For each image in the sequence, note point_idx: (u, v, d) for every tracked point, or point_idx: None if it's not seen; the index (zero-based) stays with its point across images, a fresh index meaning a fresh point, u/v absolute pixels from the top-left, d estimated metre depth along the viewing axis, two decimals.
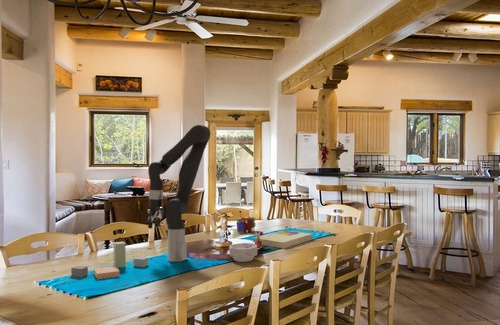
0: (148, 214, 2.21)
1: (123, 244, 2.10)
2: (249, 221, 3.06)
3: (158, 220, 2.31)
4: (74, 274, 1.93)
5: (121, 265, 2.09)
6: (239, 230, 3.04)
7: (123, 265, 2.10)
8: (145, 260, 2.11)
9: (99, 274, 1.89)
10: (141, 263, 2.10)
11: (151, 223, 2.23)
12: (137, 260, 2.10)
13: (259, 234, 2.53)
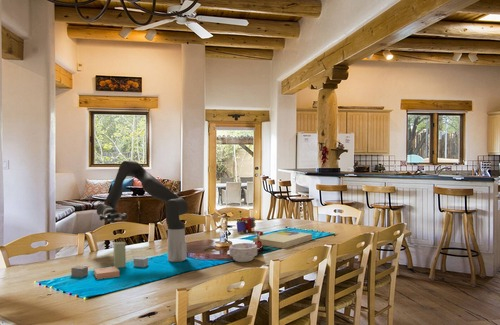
0: (99, 217, 2.25)
1: (123, 244, 2.10)
2: (249, 221, 3.06)
3: (121, 216, 2.26)
4: (74, 274, 1.93)
5: (121, 265, 2.09)
6: (239, 230, 3.04)
7: (123, 265, 2.10)
8: (145, 260, 2.11)
9: (99, 274, 1.89)
10: (141, 263, 2.10)
11: (105, 216, 2.21)
12: (137, 260, 2.10)
13: (259, 234, 2.53)
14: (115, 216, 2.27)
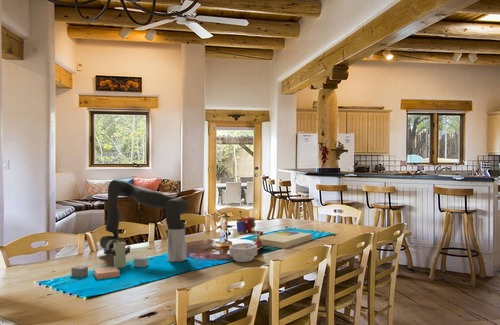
0: (105, 251, 2.13)
1: (123, 244, 2.10)
2: (249, 221, 3.06)
3: None
4: (74, 274, 1.93)
5: (121, 265, 2.09)
6: (239, 230, 3.04)
7: (123, 265, 2.10)
8: (146, 260, 2.11)
9: (99, 274, 1.89)
10: (142, 263, 2.10)
11: (113, 251, 2.10)
12: (137, 260, 2.10)
13: (259, 234, 2.53)
14: None
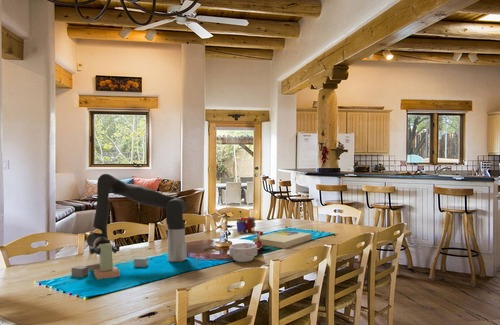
0: (89, 249, 1.97)
1: (109, 245, 1.94)
2: (249, 221, 3.06)
3: (113, 249, 1.97)
4: (74, 274, 1.93)
5: (108, 268, 1.93)
6: (239, 230, 3.04)
7: (110, 268, 1.93)
8: (146, 260, 2.11)
9: (99, 274, 1.89)
10: (142, 263, 2.10)
11: (97, 249, 1.93)
12: (138, 260, 2.10)
13: (259, 234, 2.53)
14: None
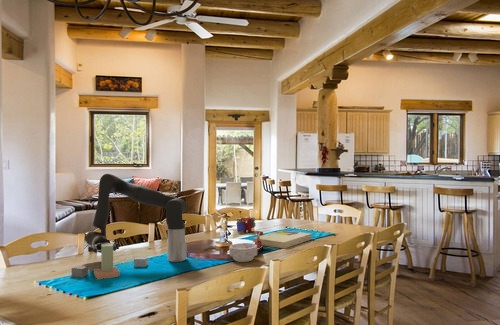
0: None
1: (110, 247, 1.92)
2: (249, 221, 3.06)
3: (113, 247, 2.02)
4: (74, 274, 1.93)
5: (108, 269, 1.93)
6: (239, 230, 3.04)
7: (110, 269, 1.93)
8: (146, 260, 2.11)
9: (99, 274, 1.89)
10: (142, 263, 2.10)
11: (94, 247, 1.97)
12: (138, 260, 2.10)
13: (259, 234, 2.53)
14: None
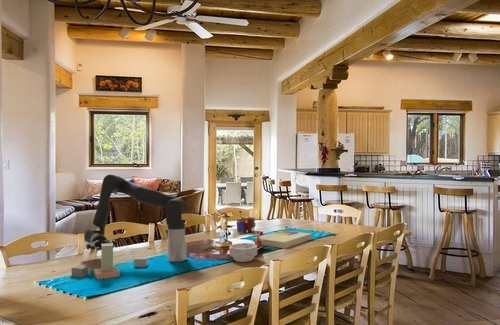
0: (86, 245, 2.07)
1: (110, 246, 1.93)
2: (249, 221, 3.06)
3: None
4: (74, 274, 1.93)
5: (108, 269, 1.92)
6: (239, 230, 3.04)
7: (110, 269, 1.93)
8: (146, 260, 2.12)
9: (99, 274, 1.89)
10: (142, 263, 2.10)
11: (92, 245, 2.04)
12: (138, 260, 2.10)
13: (259, 234, 2.53)
14: None
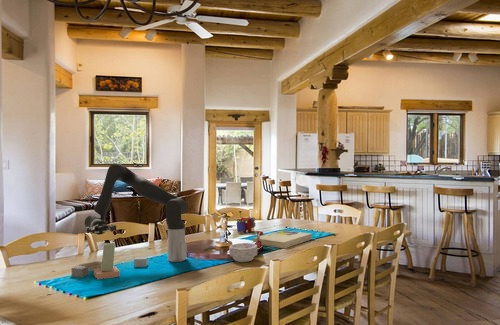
0: (86, 229, 2.08)
1: (112, 246, 1.93)
2: (249, 221, 3.06)
3: (110, 228, 2.09)
4: (74, 274, 1.93)
5: (108, 268, 1.93)
6: (239, 230, 3.04)
7: (110, 269, 1.93)
8: (146, 260, 2.12)
9: (99, 274, 1.89)
10: (143, 263, 2.10)
11: (92, 229, 2.05)
12: (138, 260, 2.10)
13: (259, 234, 2.53)
14: (103, 228, 2.10)
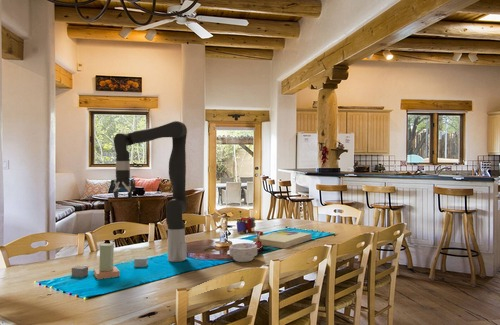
0: None
1: (108, 246, 1.92)
2: (249, 221, 3.06)
3: None
4: (74, 274, 1.93)
5: (105, 269, 1.92)
6: (239, 230, 3.04)
7: (108, 269, 1.92)
8: (146, 259, 2.12)
9: (99, 274, 1.88)
10: (143, 263, 2.10)
11: (114, 193, 2.28)
12: (138, 260, 2.10)
13: (259, 234, 2.53)
14: (124, 187, 2.27)
